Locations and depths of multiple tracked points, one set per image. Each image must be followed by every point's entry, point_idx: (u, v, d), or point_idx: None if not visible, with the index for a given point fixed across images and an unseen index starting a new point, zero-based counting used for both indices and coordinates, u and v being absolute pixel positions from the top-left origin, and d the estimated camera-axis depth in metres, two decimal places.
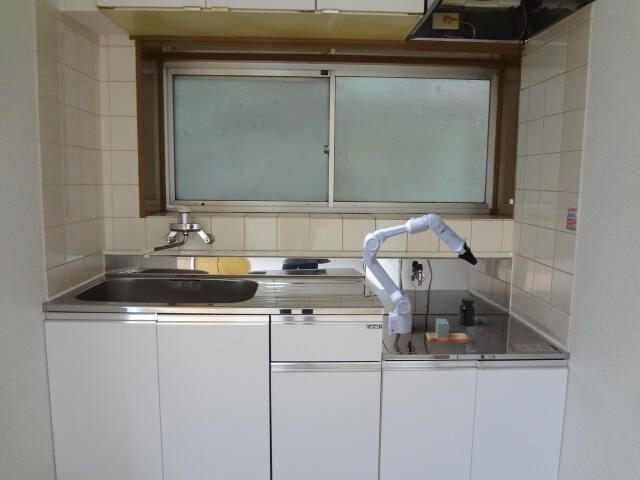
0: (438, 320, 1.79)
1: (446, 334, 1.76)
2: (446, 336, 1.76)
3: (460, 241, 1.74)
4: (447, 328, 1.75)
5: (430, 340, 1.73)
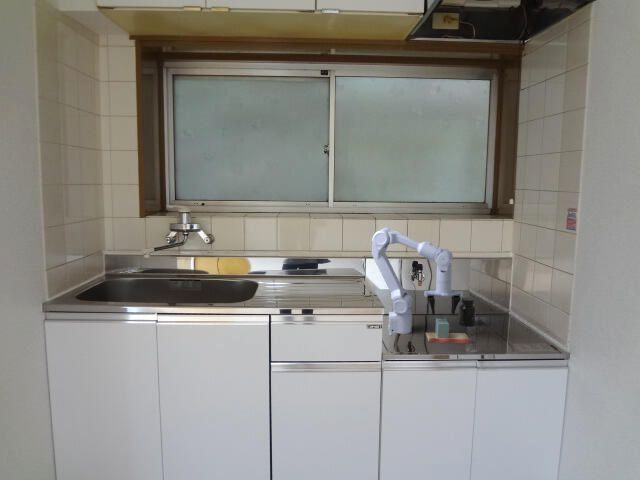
0: (438, 320, 1.79)
1: (446, 334, 1.76)
2: (446, 336, 1.76)
3: (439, 290, 1.74)
4: (447, 328, 1.75)
5: (430, 340, 1.73)
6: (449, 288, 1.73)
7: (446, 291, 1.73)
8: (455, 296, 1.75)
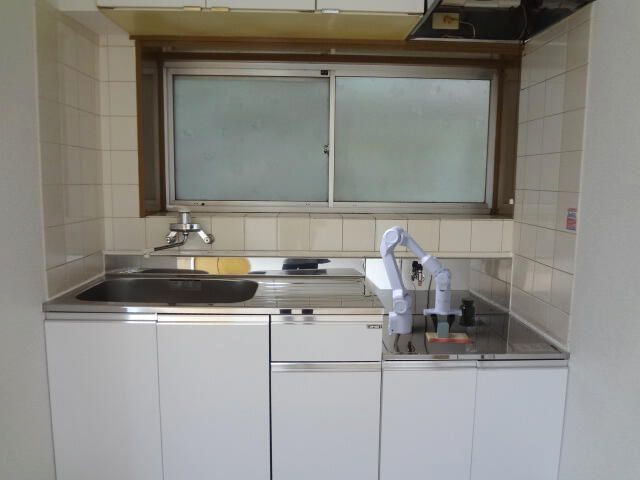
0: (438, 320, 1.79)
1: (446, 334, 1.76)
2: (446, 336, 1.76)
3: (438, 309, 1.75)
4: (447, 328, 1.75)
5: (430, 340, 1.73)
6: (448, 307, 1.75)
7: (445, 310, 1.74)
8: (454, 315, 1.76)
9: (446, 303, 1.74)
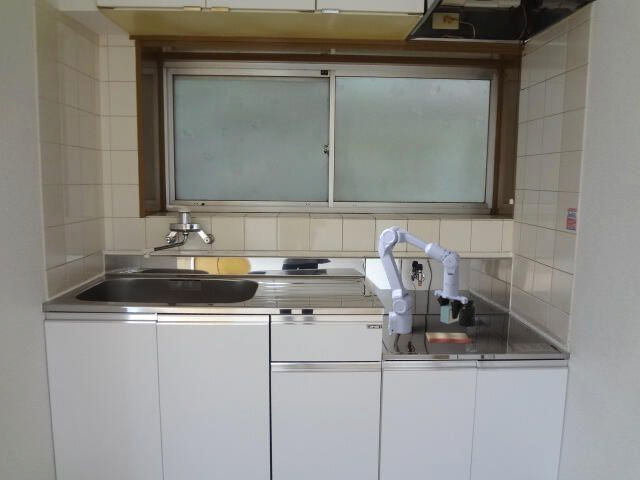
0: (448, 305, 1.77)
1: (447, 319, 1.73)
2: (447, 321, 1.73)
3: (443, 291, 1.75)
4: (447, 313, 1.72)
5: (430, 340, 1.73)
6: (450, 291, 1.71)
7: (447, 293, 1.72)
8: (458, 301, 1.70)
9: (448, 286, 1.71)
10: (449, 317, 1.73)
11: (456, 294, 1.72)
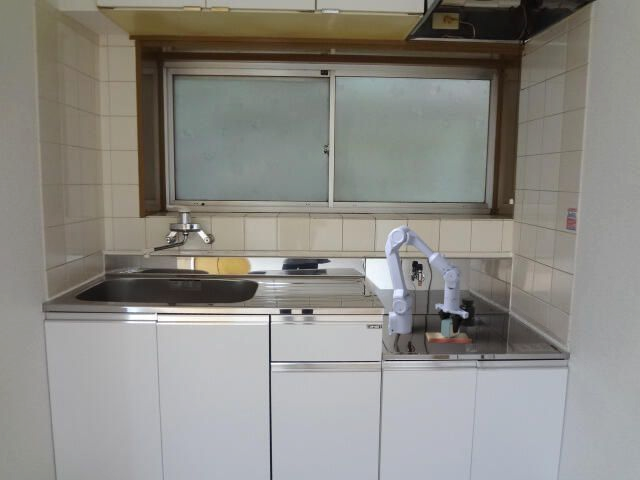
0: (449, 318, 1.77)
1: (447, 333, 1.74)
2: (447, 335, 1.74)
3: (444, 305, 1.75)
4: (448, 327, 1.73)
5: (430, 340, 1.73)
6: (451, 306, 1.72)
7: (447, 308, 1.73)
8: (459, 316, 1.71)
9: (449, 301, 1.72)
10: (450, 331, 1.73)
11: (457, 308, 1.72)
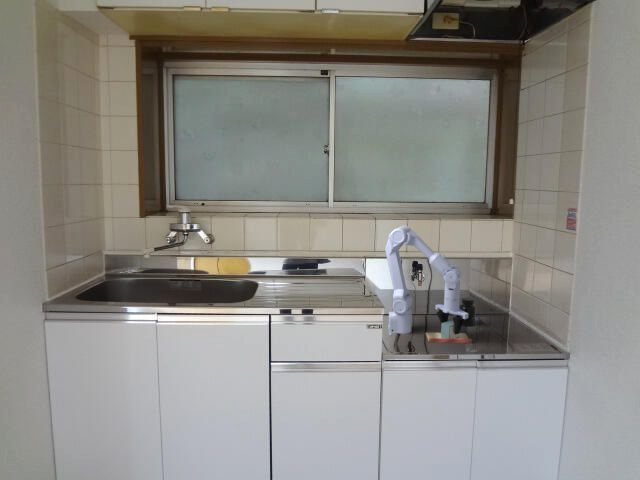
0: (449, 321, 1.77)
1: (447, 336, 1.74)
2: None
3: (444, 306, 1.75)
4: (448, 330, 1.73)
5: (430, 340, 1.73)
6: (451, 306, 1.72)
7: (447, 308, 1.73)
8: (459, 316, 1.71)
9: (448, 301, 1.72)
10: (450, 334, 1.73)
11: (457, 309, 1.72)
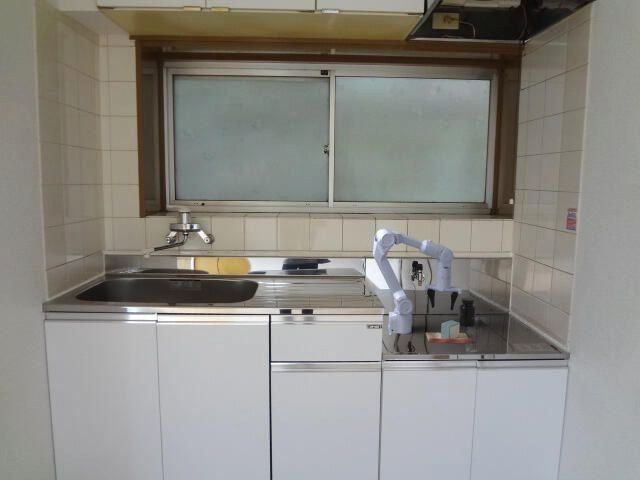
0: (449, 321, 1.77)
1: (447, 336, 1.74)
2: None
3: (437, 285, 1.82)
4: (448, 330, 1.73)
5: (430, 340, 1.73)
6: (446, 284, 1.80)
7: (443, 286, 1.80)
8: (453, 292, 1.81)
9: (444, 280, 1.80)
10: (450, 334, 1.73)
11: (450, 286, 1.82)
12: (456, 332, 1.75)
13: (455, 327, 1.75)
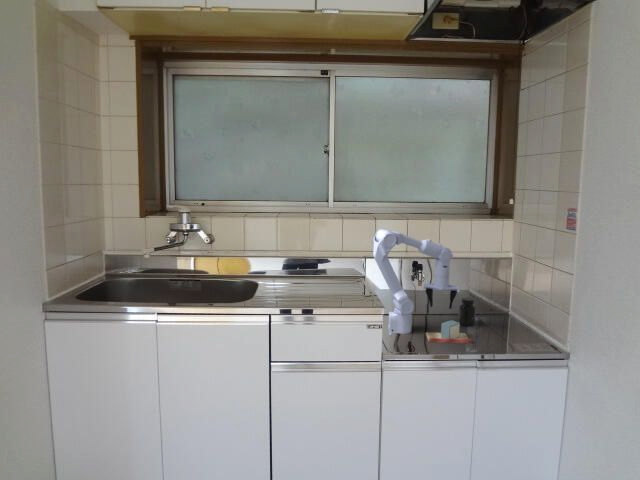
0: (449, 321, 1.77)
1: (447, 336, 1.74)
2: None
3: (436, 284, 1.84)
4: (448, 330, 1.73)
5: (430, 340, 1.73)
6: (445, 283, 1.82)
7: (442, 285, 1.82)
8: (452, 291, 1.83)
9: (443, 278, 1.81)
10: (450, 334, 1.73)
11: (448, 284, 1.84)
12: (456, 332, 1.75)
13: (455, 327, 1.75)
